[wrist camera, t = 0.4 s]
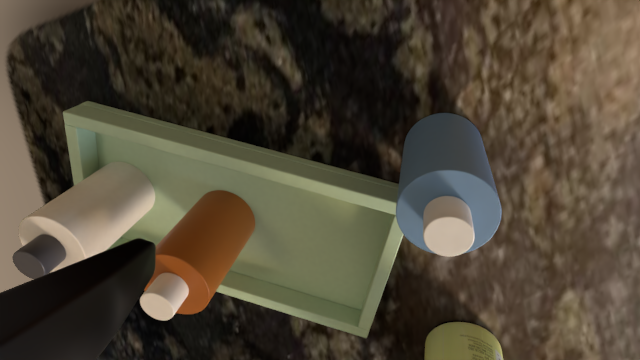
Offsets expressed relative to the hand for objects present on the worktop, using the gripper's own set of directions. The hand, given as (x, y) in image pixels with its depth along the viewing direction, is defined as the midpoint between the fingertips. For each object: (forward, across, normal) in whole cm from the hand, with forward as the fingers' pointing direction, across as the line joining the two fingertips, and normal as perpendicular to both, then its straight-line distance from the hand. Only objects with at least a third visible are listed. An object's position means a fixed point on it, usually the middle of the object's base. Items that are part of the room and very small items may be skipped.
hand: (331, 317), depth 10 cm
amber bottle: (+14, +8, +9) cm, 18 cm away
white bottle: (+14, +15, +10) cm, 22 cm away
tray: (+14, +7, +9) cm, 18 cm away
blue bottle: (+14, -3, +1) cm, 15 cm away
